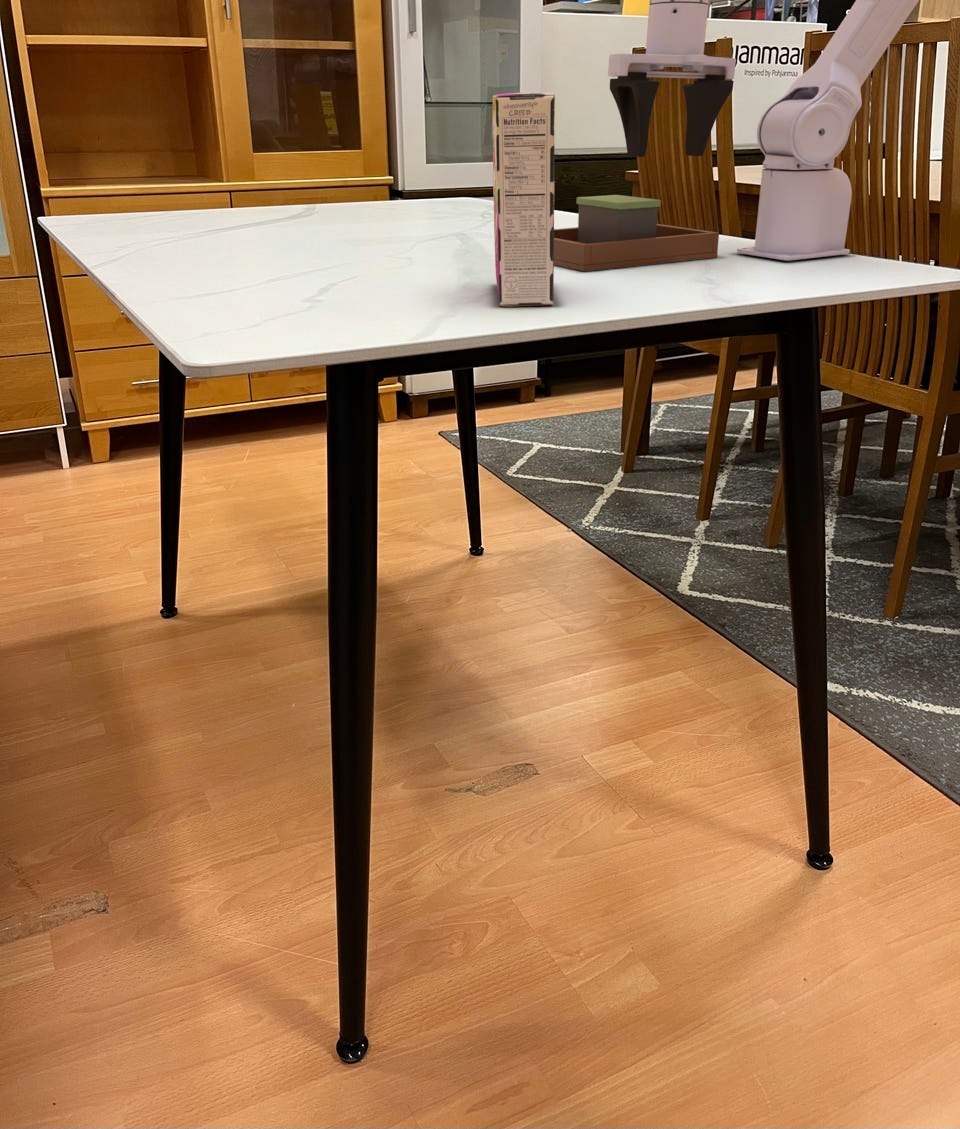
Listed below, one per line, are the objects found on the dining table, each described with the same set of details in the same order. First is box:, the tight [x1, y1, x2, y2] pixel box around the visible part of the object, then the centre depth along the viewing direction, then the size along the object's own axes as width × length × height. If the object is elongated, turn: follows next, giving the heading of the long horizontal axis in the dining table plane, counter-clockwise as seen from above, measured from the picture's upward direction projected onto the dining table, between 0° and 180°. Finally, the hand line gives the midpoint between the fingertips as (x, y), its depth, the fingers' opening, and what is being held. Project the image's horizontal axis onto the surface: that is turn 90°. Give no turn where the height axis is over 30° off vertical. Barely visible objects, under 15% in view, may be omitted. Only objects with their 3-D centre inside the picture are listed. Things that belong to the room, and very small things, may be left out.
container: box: [575, 194, 662, 244], centre depth 106 cm, size 5×8×6 cm, turn 26°
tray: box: [554, 223, 720, 273], centre depth 107 cm, size 18×14×3 cm
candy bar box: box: [492, 92, 556, 308], centre depth 83 cm, size 11×5×16 cm, turn 0°
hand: (665, 156), depth 100 cm, fingers open, 7 cm apart
